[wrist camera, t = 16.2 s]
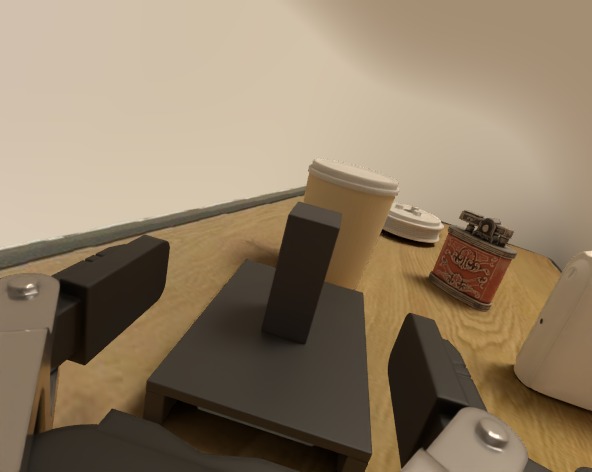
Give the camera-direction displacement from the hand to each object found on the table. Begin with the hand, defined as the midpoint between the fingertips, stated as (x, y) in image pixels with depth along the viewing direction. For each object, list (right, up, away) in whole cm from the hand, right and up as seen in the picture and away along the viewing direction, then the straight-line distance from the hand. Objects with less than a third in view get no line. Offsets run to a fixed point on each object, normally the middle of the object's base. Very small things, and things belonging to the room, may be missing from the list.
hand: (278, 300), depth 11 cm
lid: (+20, +2, +52) cm, 56 cm away
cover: (-1, -6, +13) cm, 14 cm away
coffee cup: (+4, -2, +27) cm, 28 cm away
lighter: (+21, -5, +31) cm, 38 cm away
